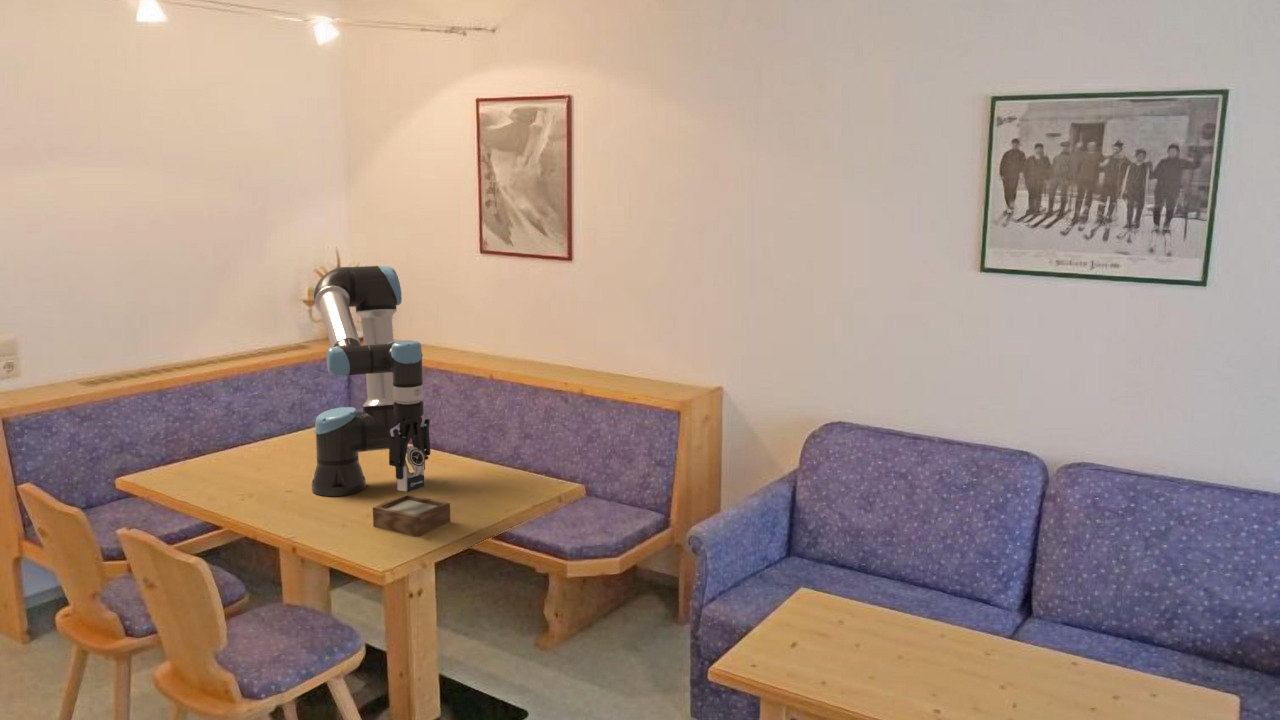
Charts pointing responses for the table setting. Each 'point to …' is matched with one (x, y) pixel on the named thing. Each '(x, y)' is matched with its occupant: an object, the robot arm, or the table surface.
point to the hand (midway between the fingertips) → (411, 486)
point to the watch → (415, 468)
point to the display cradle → (411, 515)
